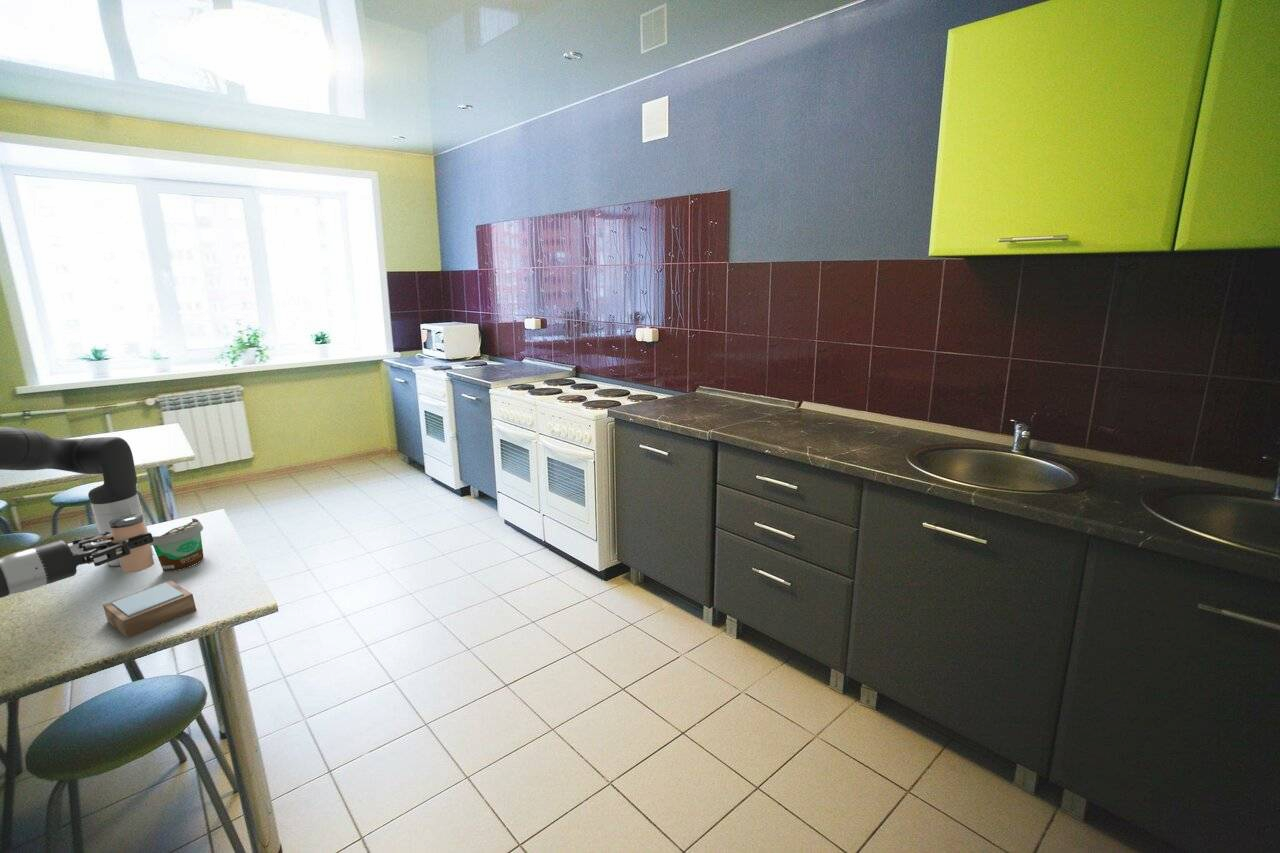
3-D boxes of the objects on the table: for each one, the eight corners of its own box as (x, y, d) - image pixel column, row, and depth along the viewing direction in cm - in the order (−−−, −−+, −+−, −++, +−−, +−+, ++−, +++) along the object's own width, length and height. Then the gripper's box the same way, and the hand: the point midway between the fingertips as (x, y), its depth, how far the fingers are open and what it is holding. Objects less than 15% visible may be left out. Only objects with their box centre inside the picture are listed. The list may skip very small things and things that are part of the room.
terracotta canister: (117, 569, 122) (104, 520, 120) (149, 558, 127) (137, 512, 124) (127, 575, 120) (114, 526, 117) (158, 564, 124) (147, 517, 121)
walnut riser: (107, 621, 125) (102, 603, 123) (174, 595, 134) (169, 579, 133) (128, 638, 118) (122, 619, 117) (196, 610, 128) (192, 592, 127)
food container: (177, 576, 144) (168, 539, 141) (157, 574, 145) (147, 537, 142) (221, 553, 155) (213, 518, 153) (202, 551, 157) (194, 517, 154)
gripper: (41, 557, 105) (155, 524, 119) (20, 540, 113) (130, 511, 127) (53, 594, 107) (164, 557, 121) (31, 575, 115) (138, 542, 128)
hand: (146, 534), depth 124 cm, fingers closed on terracotta canister, 5 cm apart
